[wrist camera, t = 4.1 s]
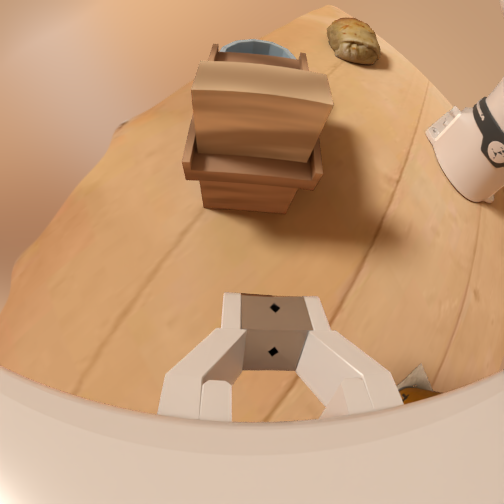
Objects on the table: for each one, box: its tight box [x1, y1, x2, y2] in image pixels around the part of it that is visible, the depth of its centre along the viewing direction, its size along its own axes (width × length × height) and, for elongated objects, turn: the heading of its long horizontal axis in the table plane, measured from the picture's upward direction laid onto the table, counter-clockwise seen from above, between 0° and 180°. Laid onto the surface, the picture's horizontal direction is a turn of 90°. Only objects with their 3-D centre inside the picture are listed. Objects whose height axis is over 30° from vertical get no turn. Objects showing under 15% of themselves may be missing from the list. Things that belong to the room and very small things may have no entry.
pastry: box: [327, 18, 380, 65], centre depth 39 cm, size 14×12×8 cm
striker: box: [191, 61, 333, 163], centre depth 19 cm, size 4×9×7 cm, turn 88°
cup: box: [220, 39, 296, 59], centre depth 33 cm, size 10×10×6 cm
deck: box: [182, 44, 323, 214], centre depth 27 cm, size 18×11×10 cm, turn 178°
